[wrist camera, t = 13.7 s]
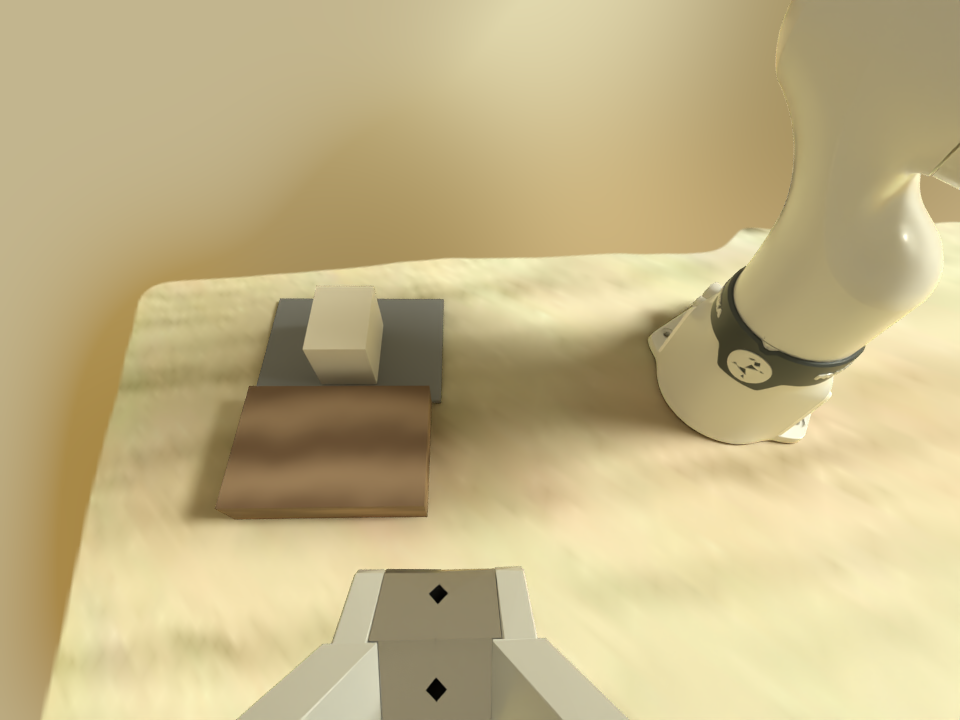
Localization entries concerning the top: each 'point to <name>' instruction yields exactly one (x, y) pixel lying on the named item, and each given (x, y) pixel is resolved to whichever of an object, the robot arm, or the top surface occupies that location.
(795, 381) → the robot arm
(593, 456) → the top surface
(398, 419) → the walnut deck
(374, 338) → the cream block
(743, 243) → the top surface
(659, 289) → the top surface
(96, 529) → the top surface
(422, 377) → the charcoal mat
